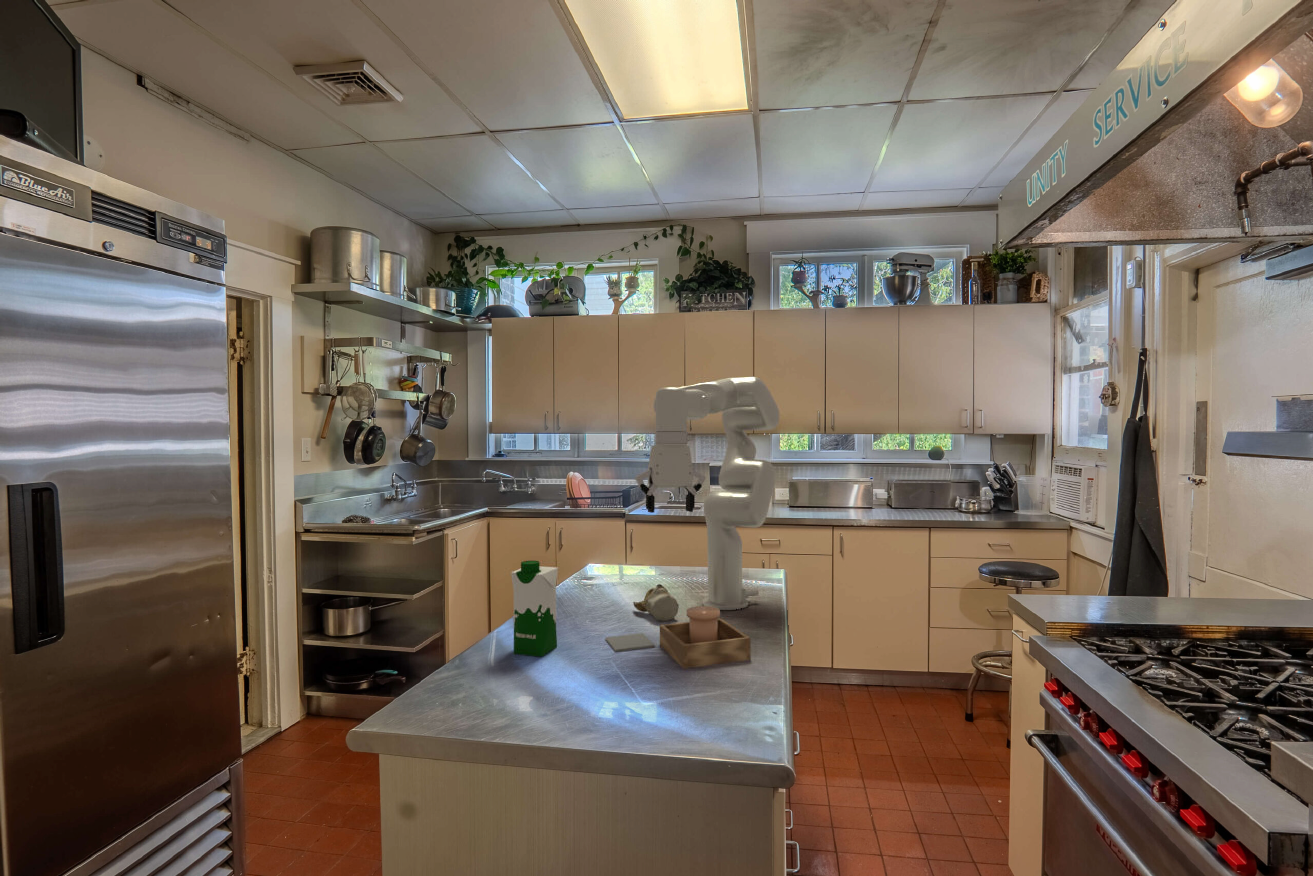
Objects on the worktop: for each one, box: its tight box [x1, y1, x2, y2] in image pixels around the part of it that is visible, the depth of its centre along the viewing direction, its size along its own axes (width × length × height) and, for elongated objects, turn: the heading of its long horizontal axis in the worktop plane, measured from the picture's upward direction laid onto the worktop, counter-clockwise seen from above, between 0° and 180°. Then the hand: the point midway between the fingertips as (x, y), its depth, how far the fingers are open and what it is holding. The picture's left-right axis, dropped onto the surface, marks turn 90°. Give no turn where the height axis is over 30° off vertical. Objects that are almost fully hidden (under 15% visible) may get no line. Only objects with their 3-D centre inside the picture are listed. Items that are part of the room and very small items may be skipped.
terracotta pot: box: [686, 605, 721, 644], centre depth 141 cm, size 7×7×9 cm
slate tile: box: [605, 632, 656, 653], centre depth 147 cm, size 9×9×1 cm
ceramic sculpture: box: [633, 584, 680, 622], centre depth 170 cm, size 11×9×15 cm
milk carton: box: [510, 560, 559, 658], centre depth 144 cm, size 9×9×20 cm
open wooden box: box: [659, 618, 752, 669], centre depth 141 cm, size 15×15×5 cm
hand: (670, 511), depth 154 cm, fingers open, 9 cm apart
